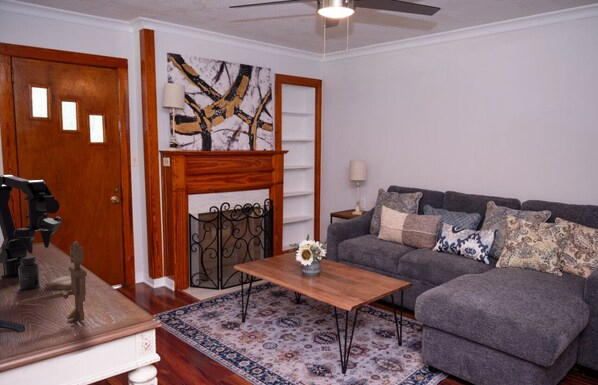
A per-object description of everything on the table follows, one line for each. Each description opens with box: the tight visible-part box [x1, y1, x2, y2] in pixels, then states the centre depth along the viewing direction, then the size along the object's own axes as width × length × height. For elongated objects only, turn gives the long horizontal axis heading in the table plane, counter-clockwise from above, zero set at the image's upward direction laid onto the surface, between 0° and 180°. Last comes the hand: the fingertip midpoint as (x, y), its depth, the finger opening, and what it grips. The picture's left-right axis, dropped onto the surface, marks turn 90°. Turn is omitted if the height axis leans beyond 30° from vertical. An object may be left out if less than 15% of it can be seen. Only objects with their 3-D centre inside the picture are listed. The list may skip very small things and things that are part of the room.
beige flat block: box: [44, 275, 86, 291], centre depth 172 cm, size 10×10×3 cm
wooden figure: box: [21, 240, 88, 328], centre depth 133 cm, size 14×18×25 cm
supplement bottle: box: [18, 255, 41, 291], centre depth 168 cm, size 7×7×12 cm
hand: (38, 250), depth 175 cm, fingers open, 9 cm apart
